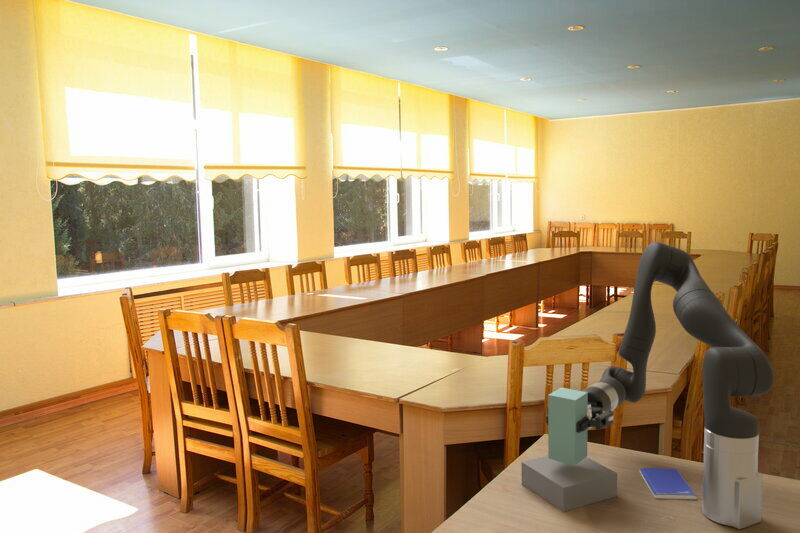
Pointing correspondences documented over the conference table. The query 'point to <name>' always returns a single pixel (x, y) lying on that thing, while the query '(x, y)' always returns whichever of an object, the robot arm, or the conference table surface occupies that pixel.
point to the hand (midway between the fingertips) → (563, 424)
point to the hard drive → (667, 483)
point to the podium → (569, 482)
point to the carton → (567, 425)
